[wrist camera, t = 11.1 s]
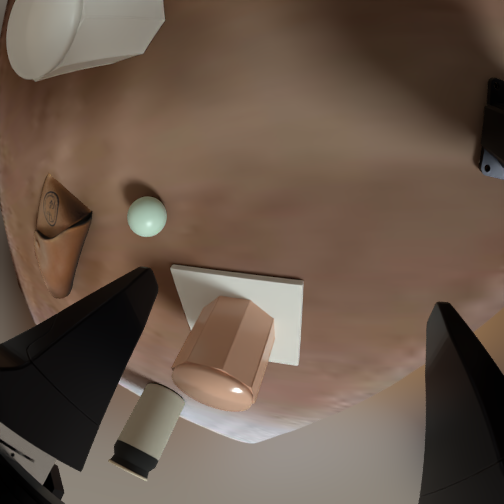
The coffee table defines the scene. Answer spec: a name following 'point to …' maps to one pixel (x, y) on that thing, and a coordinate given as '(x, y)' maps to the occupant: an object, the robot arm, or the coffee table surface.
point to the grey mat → (250, 288)
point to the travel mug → (147, 430)
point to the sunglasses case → (60, 236)
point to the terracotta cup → (226, 354)
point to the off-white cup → (78, 34)
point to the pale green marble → (147, 216)
